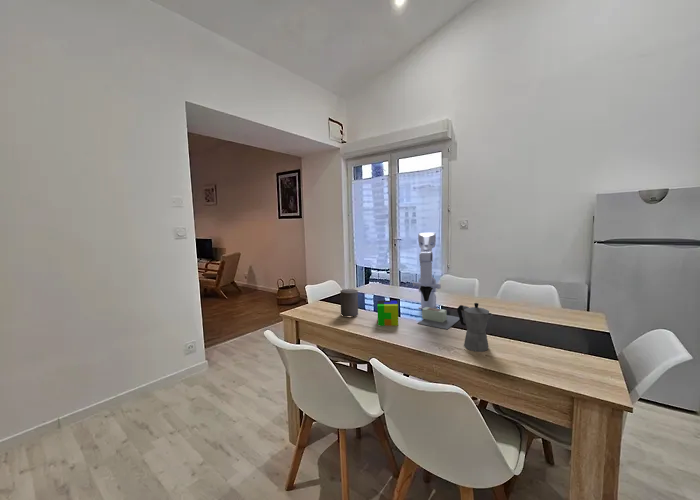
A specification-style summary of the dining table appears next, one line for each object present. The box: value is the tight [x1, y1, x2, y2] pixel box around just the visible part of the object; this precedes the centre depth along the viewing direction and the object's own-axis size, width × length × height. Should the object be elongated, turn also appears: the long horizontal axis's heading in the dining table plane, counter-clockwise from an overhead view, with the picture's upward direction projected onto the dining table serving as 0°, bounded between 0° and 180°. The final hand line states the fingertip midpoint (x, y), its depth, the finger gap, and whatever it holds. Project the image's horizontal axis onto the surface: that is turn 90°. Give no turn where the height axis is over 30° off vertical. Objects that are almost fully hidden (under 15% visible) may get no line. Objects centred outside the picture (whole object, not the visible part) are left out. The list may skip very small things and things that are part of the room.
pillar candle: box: [339, 288, 359, 317], centre depth 168 cm, size 10×10×15 cm
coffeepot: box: [456, 302, 493, 353], centre depth 121 cm, size 15×9×18 cm, turn 33°
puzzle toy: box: [376, 300, 399, 327], centre depth 154 cm, size 10×10×10 cm
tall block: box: [421, 307, 448, 322], centre depth 155 cm, size 5×5×11 cm
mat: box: [417, 314, 460, 331], centre depth 154 cm, size 20×15×1 cm
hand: (426, 300), depth 157 cm, fingers closed
